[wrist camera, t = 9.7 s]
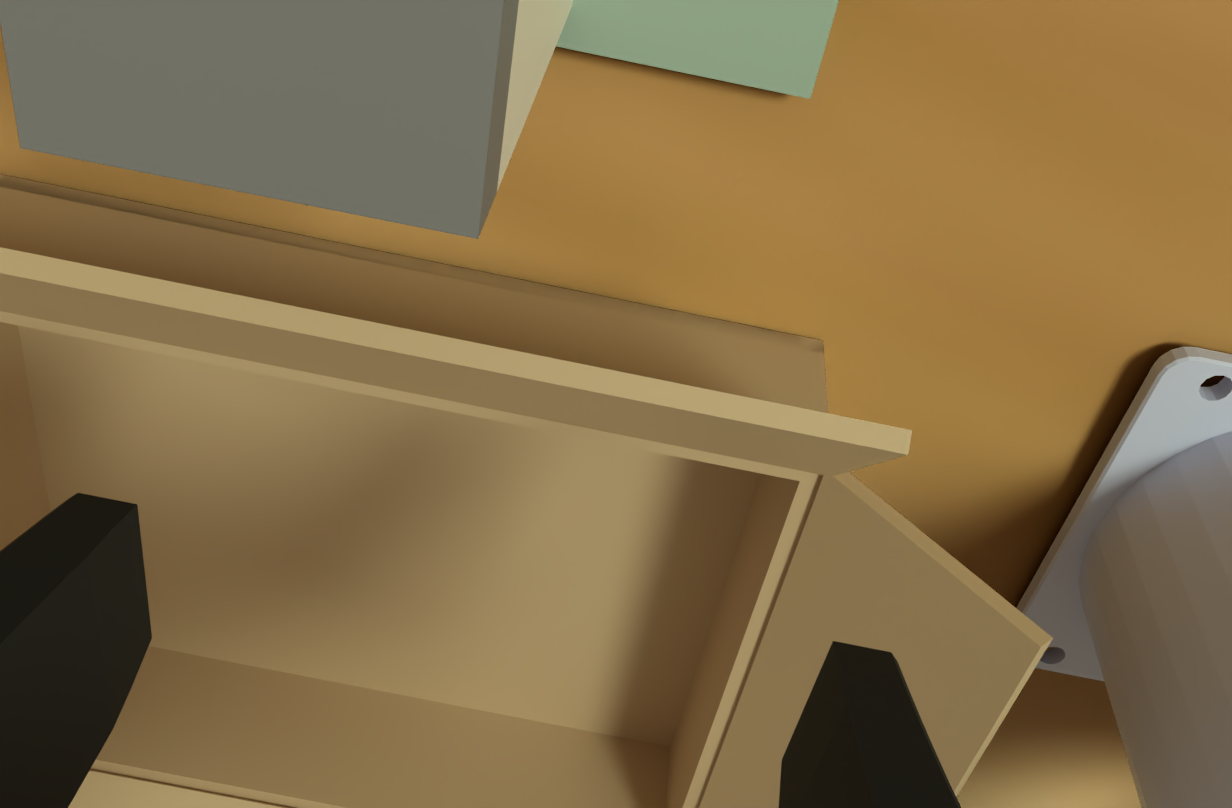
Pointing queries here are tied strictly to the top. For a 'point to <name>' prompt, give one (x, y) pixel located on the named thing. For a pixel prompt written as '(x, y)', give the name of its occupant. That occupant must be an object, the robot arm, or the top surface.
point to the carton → (459, 525)
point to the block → (290, 95)
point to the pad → (710, 38)
